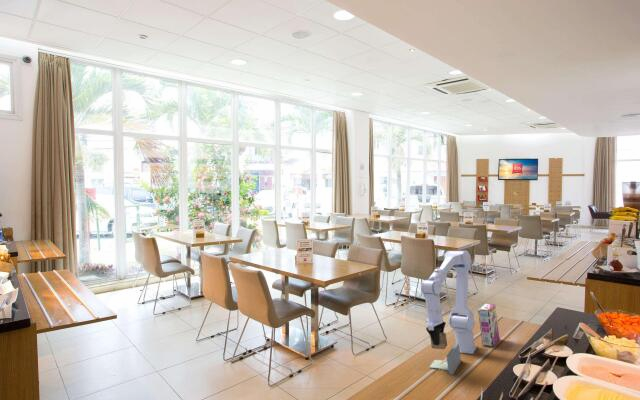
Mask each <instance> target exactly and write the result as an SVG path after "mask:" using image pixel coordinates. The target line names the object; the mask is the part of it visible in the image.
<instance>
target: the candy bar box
mask: <svg viewBox="0 0 640 400" xmlns="http://www.w3.org/2000/svg"><path fill="white" fill-rule="evenodd" d="M496 308H497V307H496V304H495V303H494V304H492V303H484V304H482V306H481V307H479V308H478V309H477V310H478V311H477V313H478V319H479V326H480V328H479V329H480V336H481V342H482V346H483V347H490V346H493V347H494V346H495V345H496V344H497V343H496V342H498V341H499V340H500V330H499V325H498V315H497V309H496ZM495 343H496V344H495Z"/></svg>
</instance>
